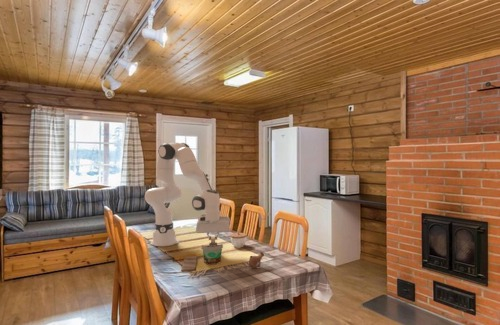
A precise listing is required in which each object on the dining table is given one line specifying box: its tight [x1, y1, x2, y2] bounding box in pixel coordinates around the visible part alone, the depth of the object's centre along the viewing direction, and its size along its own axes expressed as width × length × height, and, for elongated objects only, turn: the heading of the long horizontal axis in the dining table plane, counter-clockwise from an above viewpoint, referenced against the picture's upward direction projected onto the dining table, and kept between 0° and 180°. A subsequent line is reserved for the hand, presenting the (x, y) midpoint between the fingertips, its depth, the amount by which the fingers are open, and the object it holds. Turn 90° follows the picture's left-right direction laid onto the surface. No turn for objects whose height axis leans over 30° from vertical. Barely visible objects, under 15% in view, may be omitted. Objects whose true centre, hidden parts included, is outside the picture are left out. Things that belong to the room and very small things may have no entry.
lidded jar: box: [230, 231, 248, 249], centre depth 205 cm, size 11×11×9 cm
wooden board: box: [180, 256, 198, 272], centre depth 171 cm, size 20×7×1 cm, turn 7°
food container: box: [200, 243, 224, 265], centre depth 173 cm, size 12×6×10 cm, turn 105°
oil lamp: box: [248, 251, 265, 269], centre depth 165 cm, size 9×4×8 cm, turn 112°
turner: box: [208, 234, 218, 246], centre depth 185 cm, size 16×4×3 cm, turn 7°
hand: (213, 239), depth 187 cm, fingers closed on turner, 2 cm apart
